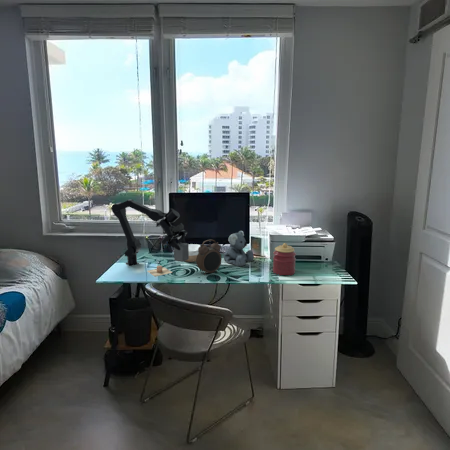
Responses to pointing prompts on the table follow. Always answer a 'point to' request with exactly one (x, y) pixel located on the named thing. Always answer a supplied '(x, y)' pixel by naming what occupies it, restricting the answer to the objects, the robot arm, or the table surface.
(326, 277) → the table surface
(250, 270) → the table surface
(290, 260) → the canister
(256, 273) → the table surface
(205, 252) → the alarm clock
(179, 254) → the gray rectangular block
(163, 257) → the table surface
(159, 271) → the ink pot
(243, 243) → the koala plush
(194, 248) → the bowl
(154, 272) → the cork mat
